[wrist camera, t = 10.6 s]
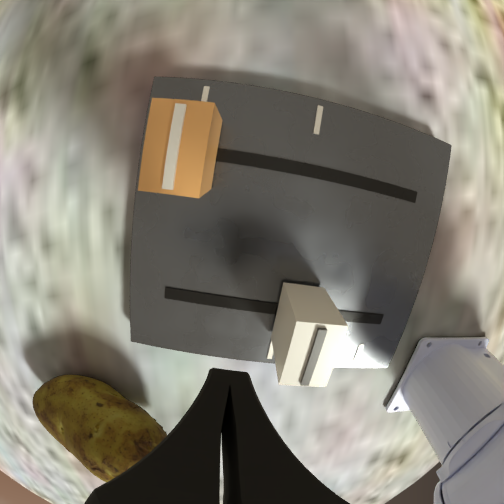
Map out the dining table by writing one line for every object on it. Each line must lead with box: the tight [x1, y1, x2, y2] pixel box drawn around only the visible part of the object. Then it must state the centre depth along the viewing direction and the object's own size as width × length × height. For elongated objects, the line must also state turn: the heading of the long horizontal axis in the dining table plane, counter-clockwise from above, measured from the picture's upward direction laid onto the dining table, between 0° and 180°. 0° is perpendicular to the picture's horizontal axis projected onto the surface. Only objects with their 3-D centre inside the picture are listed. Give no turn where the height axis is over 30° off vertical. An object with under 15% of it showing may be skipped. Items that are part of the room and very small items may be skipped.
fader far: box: [271, 282, 348, 387], centre depth 15 cm, size 2×4×5 cm, turn 171°
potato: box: [33, 375, 167, 482], centre depth 17 cm, size 8×13×8 cm, turn 66°
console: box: [130, 77, 451, 368], centre depth 17 cm, size 18×16×2 cm
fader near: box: [138, 98, 223, 198], centre depth 12 cm, size 2×4×5 cm, turn 170°
